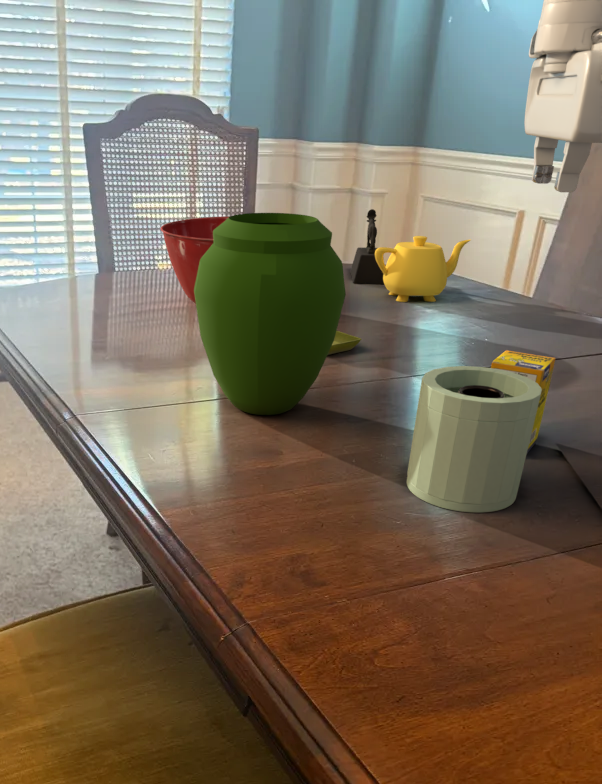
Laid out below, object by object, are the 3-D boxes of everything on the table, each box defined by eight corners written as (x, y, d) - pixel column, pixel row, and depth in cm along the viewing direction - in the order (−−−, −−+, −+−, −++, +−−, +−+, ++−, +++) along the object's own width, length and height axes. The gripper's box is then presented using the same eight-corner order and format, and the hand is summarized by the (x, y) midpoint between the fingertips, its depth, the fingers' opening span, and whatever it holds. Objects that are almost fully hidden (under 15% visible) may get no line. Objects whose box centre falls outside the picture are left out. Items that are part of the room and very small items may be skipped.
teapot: (471, 304, 161) (482, 241, 155) (377, 304, 161) (384, 241, 154) (450, 290, 173) (460, 231, 167) (362, 290, 172) (369, 231, 166)
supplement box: (536, 443, 96) (557, 356, 91) (524, 459, 92) (545, 369, 86) (488, 432, 99) (505, 348, 94) (474, 447, 95) (491, 360, 89)
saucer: (323, 359, 127) (324, 346, 126) (289, 346, 133) (290, 334, 132) (361, 351, 131) (363, 338, 130) (327, 339, 137) (328, 327, 136)
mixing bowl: (249, 331, 142) (253, 242, 134) (133, 308, 157) (130, 227, 149) (324, 303, 161) (331, 224, 154) (214, 285, 176) (216, 212, 168)
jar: (503, 469, 89) (526, 368, 83) (527, 516, 79) (555, 405, 73) (401, 463, 90) (416, 363, 85) (412, 509, 81) (430, 399, 75)
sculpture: (382, 273, 189) (390, 207, 182) (385, 284, 178) (394, 214, 170) (350, 272, 190) (356, 206, 183) (351, 283, 179) (358, 213, 171)
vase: (362, 407, 107) (384, 219, 95) (270, 444, 95) (282, 235, 83) (257, 375, 119) (265, 205, 107) (164, 405, 107) (161, 217, 95)
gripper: (660, 24, 66) (615, 198, 73) (587, 40, 84) (556, 179, 91) (583, 24, 67) (546, 197, 74) (527, 40, 85) (501, 178, 91)
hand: (551, 187), depth 82 cm, fingers open, 8 cm apart
